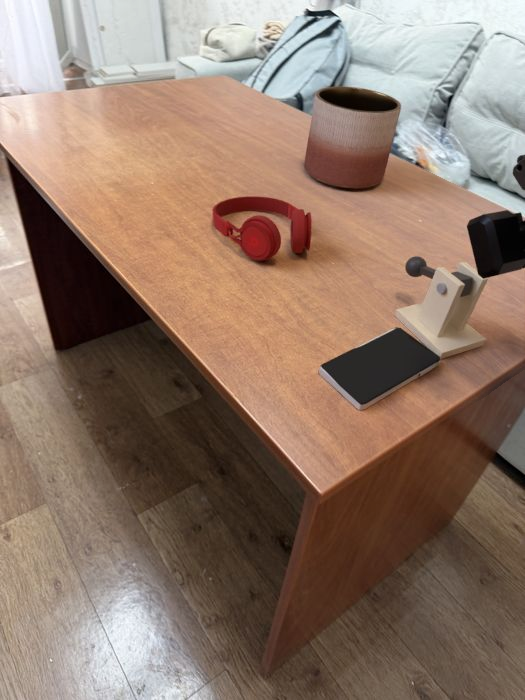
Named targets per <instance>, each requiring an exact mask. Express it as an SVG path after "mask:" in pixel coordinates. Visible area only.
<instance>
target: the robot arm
mask: <svg viewBox="0 0 525 700" xmlns="http://www.w3.org/2000/svg"><path fill="white" fill-rule="evenodd" d="M512 176H513V177H514V180H515V181H516V182H517V183H518V186H519V187H520V188H521V190H523V191H525V154H521V155H518V156H517V159H516V165H514V166H513V168H512ZM466 229H467V233H468V238H469V242H470V247H471V250H472V254H473V258H474V263H475V267H476V268H475V269H476V270H477V272H478V275H479V276H481V277H482V278H483V279H485V278H488V279H489V278H492V277H496V276H500V275H505V274H509V273H512V272H517V271H521V270H522V269H525V219H523V215H522V212H515V213H513V212H511V210H508V209H507V210H506V209H505V210H501V211H494V212H488V213H483V214H481V215H478V216H476V217H473V218H471V219H469V220H468V222H467V224H466Z"/></svg>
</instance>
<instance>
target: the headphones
mask: <svg viewBox="0 0 525 700" xmlns="http://www.w3.org/2000/svg"><path fill="white" fill-rule="evenodd" d="M243 211H244V212H245V211H246V212H247V211H258V212H259V211H261V212H268V213H274V214H278V215H281V216H284V217H285V218H287V219H289V220H290V233H289V235H290V236H289V237H290V249H291V251H292V253H294V254H302V253H303V252H304V249H305V251H310V248H311V241H312V213H311V212H310V211H308V212H307V213H305V210H304V209H303V208H298V207H296V206H294V205H292V204H291V203H289V202H287V201H285V200H282V199H278V198H274V197H267V196H259V195H258V196H257V195H256V196H253V195H252V196H251V195H250V196H248V195H247V196H237V197H233V198H227V199H225V200H221V201H219V202H218V203H216V204H215V205H214V206H213V207H212V225H213V228H214V229H215V230H217V232H219V233H220V234H221V235H222V236H223V237H225V238H227V237H228V238H230V239H231V240H232V241H233V242H234V243H235V244H236V245H238V246H239V247H240V248H241V250H242V252H243V253H244V254H245V255H246V256H247V257H248V258H250V259H251V260H254V261H268V260H270V259H271V258H273V257H275V256H276V255H277V254H278V252H279V250H280V248H281V245H282V237H281V233H280V230H279V228H278V226H277V224H276V223H275V222H274V221H273V220H271V219H270V218H269V217H267V216H265V215H260V214H257V215H253V216H251V217H248V218H247V219H246V220H244V221H243V223H242V225H241V226H240V227H239V228H238V226H235V225H234V224H233V223H232V222H230V221H229V220H225V219H224V218H223V217H224V216H225V215H229V214H232V213H237V212H243ZM234 232H236V233H237V235H234Z"/></svg>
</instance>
